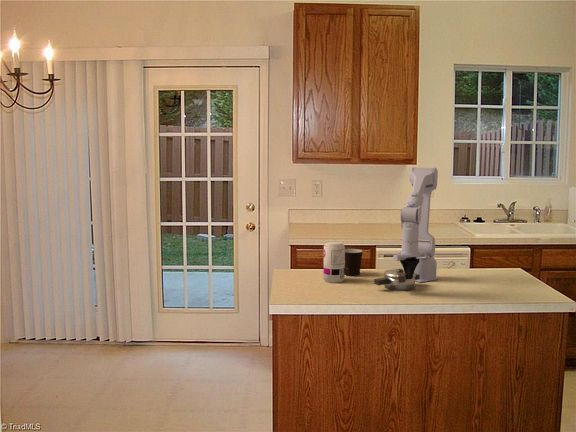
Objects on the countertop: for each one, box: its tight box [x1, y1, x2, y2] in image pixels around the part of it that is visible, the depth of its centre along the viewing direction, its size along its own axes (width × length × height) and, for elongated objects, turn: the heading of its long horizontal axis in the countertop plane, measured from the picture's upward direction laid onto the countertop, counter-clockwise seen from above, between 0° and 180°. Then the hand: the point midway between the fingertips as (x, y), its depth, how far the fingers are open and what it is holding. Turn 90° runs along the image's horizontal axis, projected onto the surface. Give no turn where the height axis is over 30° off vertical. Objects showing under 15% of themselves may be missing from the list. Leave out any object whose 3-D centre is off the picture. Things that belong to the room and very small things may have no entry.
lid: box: [383, 268, 416, 282], centre depth 194 cm, size 17×12×2 cm
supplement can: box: [322, 240, 346, 284], centre depth 206 cm, size 8×8×15 cm
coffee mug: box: [344, 248, 364, 277], centre depth 218 cm, size 12×9×10 cm
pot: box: [373, 274, 420, 292], centre depth 197 cm, size 19×11×4 cm, turn 119°
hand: (409, 278), depth 188 cm, fingers closed
